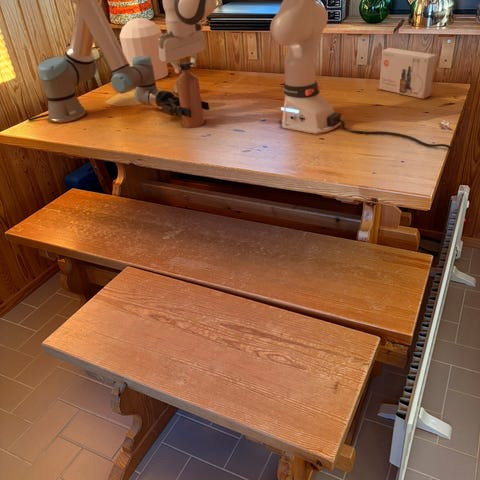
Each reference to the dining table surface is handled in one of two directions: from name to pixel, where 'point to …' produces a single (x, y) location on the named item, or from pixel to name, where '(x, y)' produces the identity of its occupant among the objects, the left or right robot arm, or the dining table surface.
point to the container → (143, 43)
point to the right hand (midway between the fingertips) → (185, 69)
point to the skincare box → (407, 72)
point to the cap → (185, 65)
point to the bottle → (190, 98)
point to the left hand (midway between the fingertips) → (199, 109)
